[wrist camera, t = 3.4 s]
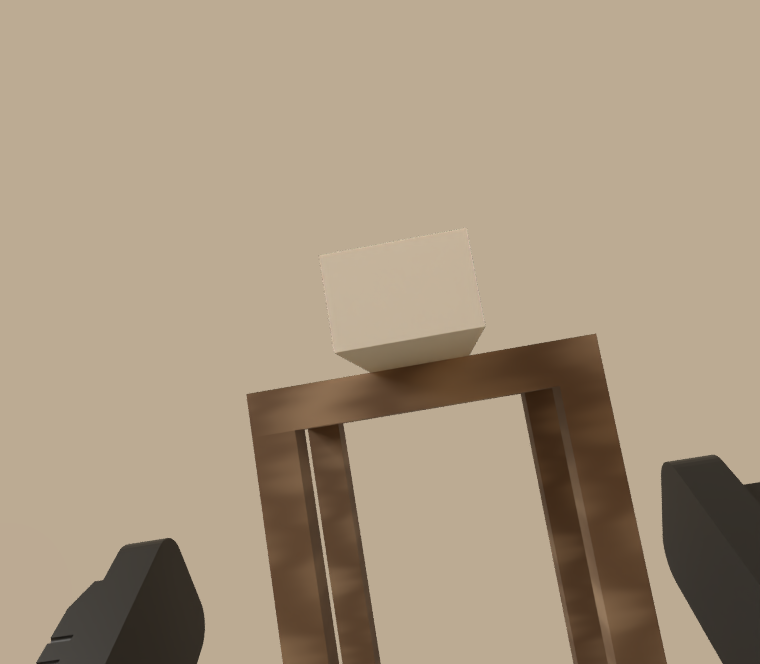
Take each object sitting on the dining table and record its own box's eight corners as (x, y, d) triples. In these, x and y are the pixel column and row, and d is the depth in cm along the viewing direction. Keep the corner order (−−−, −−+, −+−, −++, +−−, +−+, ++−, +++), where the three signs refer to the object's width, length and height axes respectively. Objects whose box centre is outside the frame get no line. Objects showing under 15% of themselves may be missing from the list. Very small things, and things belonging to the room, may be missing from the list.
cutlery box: (333, 353, 19) (318, 255, 19) (395, 385, 44) (387, 343, 45) (485, 326, 18) (466, 227, 19) (458, 374, 44) (450, 332, 44)
